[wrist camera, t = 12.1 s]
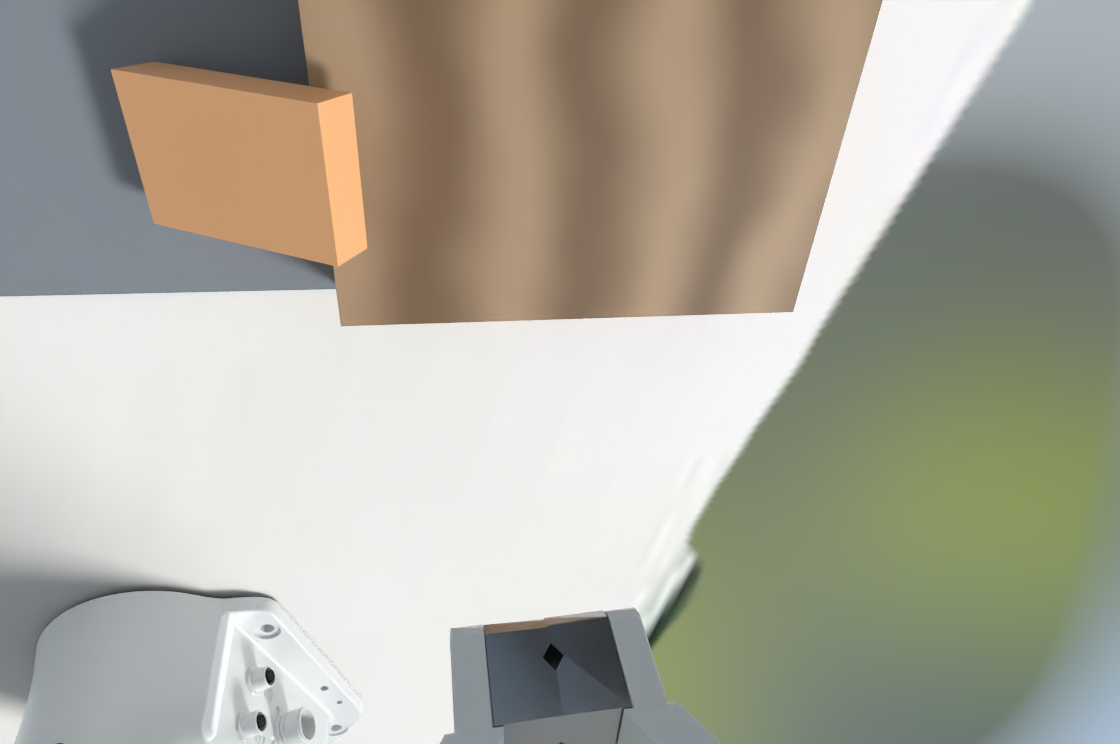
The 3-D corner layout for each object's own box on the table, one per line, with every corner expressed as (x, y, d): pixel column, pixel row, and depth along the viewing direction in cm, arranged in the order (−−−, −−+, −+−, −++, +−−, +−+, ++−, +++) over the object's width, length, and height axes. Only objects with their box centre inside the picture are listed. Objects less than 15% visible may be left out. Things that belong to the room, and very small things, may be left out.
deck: (832, -12, 30) (883, -2, 27) (760, 276, 38) (792, 311, 35) (308, -44, 26) (293, -37, 23) (347, 285, 34) (341, 326, 31)
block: (351, 92, 24) (317, 103, 23) (367, 248, 28) (338, 267, 26) (154, 61, 27) (110, 69, 25) (190, 208, 30) (153, 223, 28)
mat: (293, -47, 26) (291, -46, 26) (336, 285, 34) (335, 288, 33) (-205, -77, 23) (-214, -77, 23) (-32, 293, 31) (-37, 297, 30)
